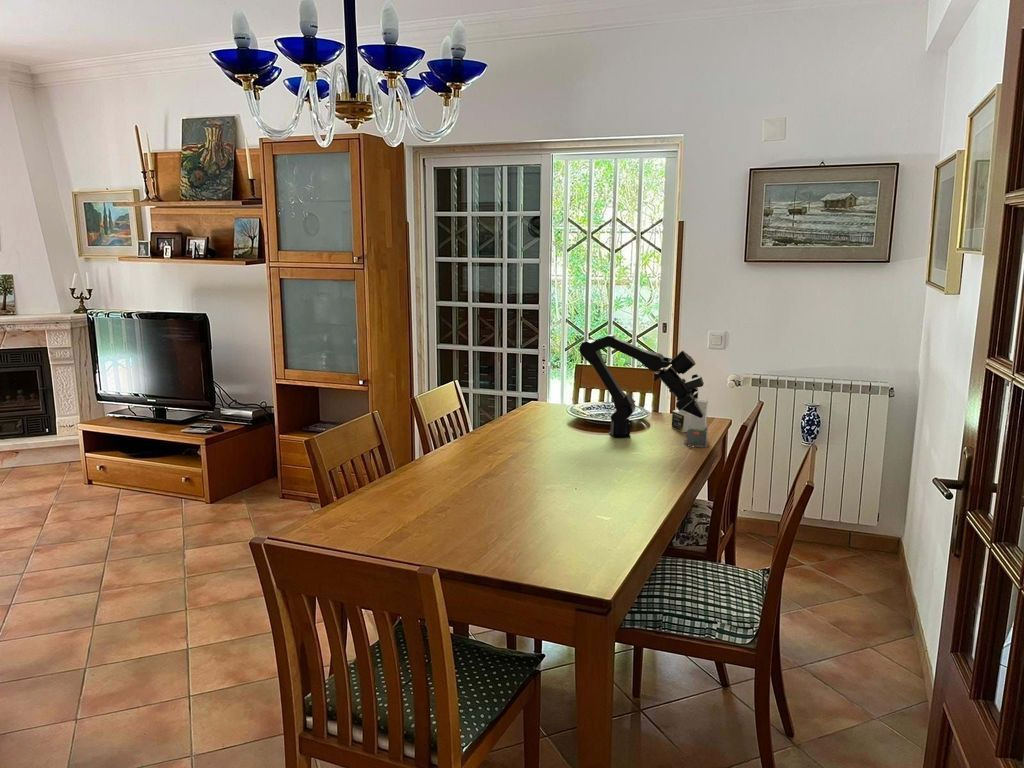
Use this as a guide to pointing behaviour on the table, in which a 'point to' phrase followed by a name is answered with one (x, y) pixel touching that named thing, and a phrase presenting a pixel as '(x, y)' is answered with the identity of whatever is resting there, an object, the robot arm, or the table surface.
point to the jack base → (697, 438)
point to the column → (697, 422)
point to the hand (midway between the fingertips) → (702, 415)
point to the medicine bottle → (681, 420)
